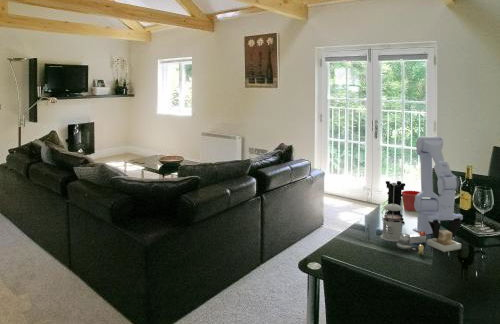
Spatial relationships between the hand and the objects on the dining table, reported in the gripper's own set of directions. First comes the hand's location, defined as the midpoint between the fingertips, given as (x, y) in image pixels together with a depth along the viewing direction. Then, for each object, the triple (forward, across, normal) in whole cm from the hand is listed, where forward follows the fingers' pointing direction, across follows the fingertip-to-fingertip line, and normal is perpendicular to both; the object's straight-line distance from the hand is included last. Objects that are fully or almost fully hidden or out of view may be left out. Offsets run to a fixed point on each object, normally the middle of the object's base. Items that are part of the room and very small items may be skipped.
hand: (444, 237), depth 161 cm
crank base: (+4, -15, 0) cm, 16 cm away
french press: (+4, -15, +16) cm, 22 cm away
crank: (+2, -12, +3) cm, 13 cm away
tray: (+4, 0, 0) cm, 4 cm away
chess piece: (+4, -1, +36) cm, 37 cm away
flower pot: (+5, +20, +54) cm, 58 cm away
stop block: (+4, 0, 0) cm, 4 cm away
